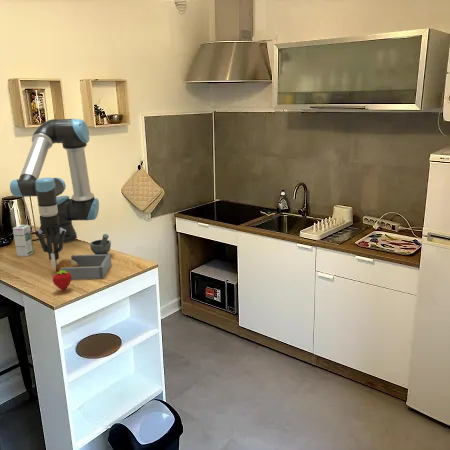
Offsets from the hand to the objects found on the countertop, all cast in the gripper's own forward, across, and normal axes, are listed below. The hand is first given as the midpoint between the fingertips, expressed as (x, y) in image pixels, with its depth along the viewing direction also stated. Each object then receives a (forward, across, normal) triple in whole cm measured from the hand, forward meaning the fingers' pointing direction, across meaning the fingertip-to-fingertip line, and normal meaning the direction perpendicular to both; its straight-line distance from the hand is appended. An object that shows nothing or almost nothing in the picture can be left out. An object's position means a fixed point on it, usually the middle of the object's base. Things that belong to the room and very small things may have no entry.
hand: (55, 266), depth 201 cm
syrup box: (+3, -23, +26) cm, 35 cm away
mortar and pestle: (+3, +16, +20) cm, 26 cm away
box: (+3, +14, 0) cm, 14 cm away
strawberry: (+3, +9, -20) cm, 22 cm away
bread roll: (+3, +5, -1) cm, 6 cm away
